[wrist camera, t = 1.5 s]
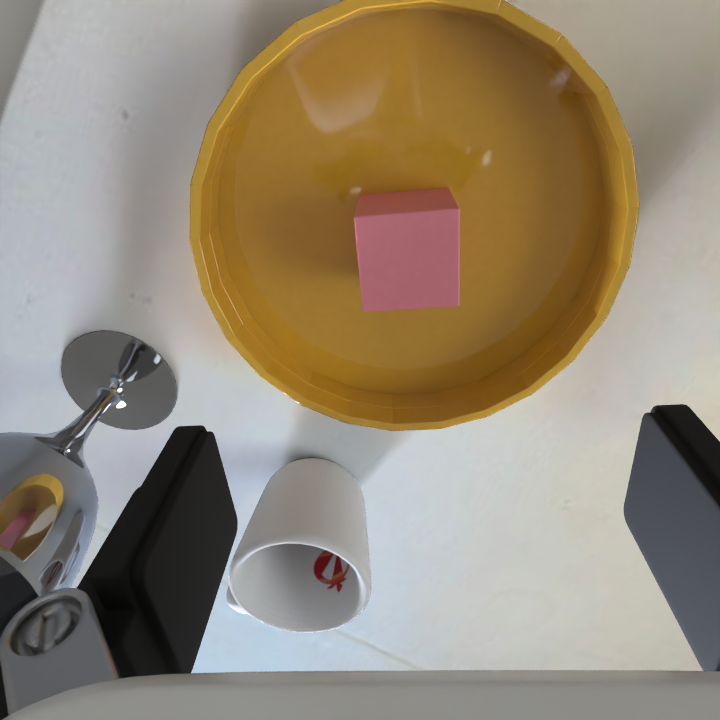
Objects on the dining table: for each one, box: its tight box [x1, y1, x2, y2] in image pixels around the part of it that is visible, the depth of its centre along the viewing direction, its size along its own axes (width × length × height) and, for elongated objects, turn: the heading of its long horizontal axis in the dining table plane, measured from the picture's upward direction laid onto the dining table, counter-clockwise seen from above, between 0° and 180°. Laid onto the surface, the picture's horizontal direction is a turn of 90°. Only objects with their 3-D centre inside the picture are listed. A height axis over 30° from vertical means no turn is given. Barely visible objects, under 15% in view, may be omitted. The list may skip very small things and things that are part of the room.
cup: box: [226, 458, 371, 633], centre depth 33 cm, size 11×8×8 cm
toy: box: [354, 188, 460, 312], centre depth 25 cm, size 4×4×4 cm
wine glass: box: [0, 331, 177, 638], centre depth 26 cm, size 8×8×15 cm
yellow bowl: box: [190, 0, 639, 431], centre depth 26 cm, size 20×20×4 cm
